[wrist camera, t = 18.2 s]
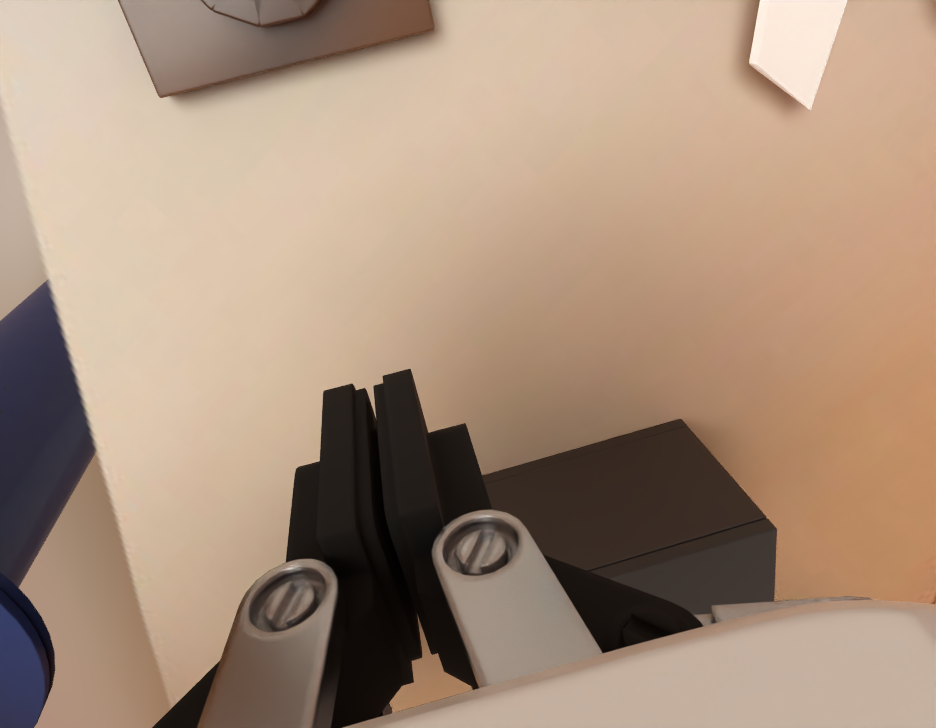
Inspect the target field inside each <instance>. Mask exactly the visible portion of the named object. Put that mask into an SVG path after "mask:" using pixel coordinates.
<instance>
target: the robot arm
mask: <svg viewBox="0 0 936 728" xmlns="http://www.w3.org/2000/svg"><path fill="white" fill-rule="evenodd" d="M374 398H375V409H376V418H375V415H374V412H373V408H372V405H371V402H370V399H369V396H368V393H367V391H366V389H365V388H363V389H359V390H356V389H355V387H354V385H353V384H349V385H345V386H341V387H337V388H333V389H329V390H325V391H324V393H323V410H322V430H321V450H320V461H319V462H315V463H312V464H308V465H304V466H300V467H298V468H297V469H296V472H295V478H294V488H293V498H292V507H291V517H290V527H289V536H288V546H287V556H286V563H283V564H281V565H279V566H277V567H275V568H273V569H271V570H269V571H268V572H267V573H265V574H264V575H263V576H262V577H260V578H259V579H258V580H256V581H255V583H254V584H253V585H252V586H251V587H250V588H249V590H248V591H247V592H246V593H245V595H244V597H243V599H242V601H241V603H240V605H239V608H238V611H237V614H236V616H235V619H234V622H233V625H232V628H231V631H230V634H229V637H228V640H227V642H226V645H225V648H224V651H223V654H222V657H221V660H220V661H219V662H218V663H217V664H216V665H215V666H214V667H213V668H212V669H211V670H210V671H209V672H208V673H207V674H206V675H205V676H204V677H203V678H202V679H201V680H200V681H199V682H198V683H197V684H196V685H195V686H194V687H193V688H192V689H191V690H190V691H189V692H188V693H187V694H186V695H185V696H184V697H183V698H182V699H181V700H180V701H179V702H178V703H177V704H176V705H175V706H174V707H173V708H172V709H171V710H170V711H169V712H168V713H167V714H166V715H165V716H164V717H162V719H160V720H159V721H158V722H157V723H156V724H155V726H153V728H936V605H933V604H926V603H919V602H903V601H887V600H873V599H871V598H865V597H852V596H844V597H830V598H815V599H801V600H786V601H772V602H757V603H743V604H729V605H714V606H711V614H701V615H693V614H692V613H690V612H689V611H688V610H686V609H684V608H682V607H681V606H679V605H677V604H675V603H673V602H670V601H667V600H665V599H662V598H659V597H657V596H654V595H651V594H649V593H646V592H643V591H640V590H638V589H635V588H632V587H630V586H627V585H624V584H622V583H619V582H616V581H613V580H611V579H608V578H605V577H603V576H600V575H597V574H594V573H592V572H589V571H586V570H584V569H581V568H578V567H576V566H573V565H570V564H567V563H565V562H562V561H559V560H557V559H554V558H551V557H548V556H546V555H543V554H542V553H541V551H540V550H539V548H538V547H537V545H536V543H535V542H534V540H533V538H532V537H531V535H530V533H529V532H528V530H527V529H526V527H525V526H524V525H523V524H522V523H521V522H520V520H519V519H518V518H516V517H514V516H512V515H510V514H508V513H506V512H501V511H496V510H492V507H491V503H490V500H489V497H488V494H487V490H486V487H485V484H484V481H483V477H482V474H481V471H480V468H479V465H478V461H477V458H476V455H475V452H474V448H473V445H472V442H471V439H470V436H469V432H468V429H467V426H466V424H465V423H464V424H460V425H456V426H453V427H449V428H445V429H441V430H437V431H434V432H430V433H428V430H427V426H426V423H425V419H424V415H423V412H422V408H421V404H420V401H419V397H418V394H417V390H416V386H415V383H414V379H413V375H412V372H411V369H407V370H403V371H399V372H396V373H392V374H388V375H384V376H383V384H379V385H375V386H374ZM417 614H418V616H417ZM418 617H419V620H420V623H421V626H422V629H423V632H424V634H425V637H426V640H427V643H428V646H429V649H430V652H431V654H432V655H433V654H437V653H438V654H439V657H440V660H441V663H442V666H443V669H444V671H445V672H446V673H448V674H450V675H452V676H454V677H456V678H457V679H459V680H461V681H463V682H465V683H467V684H468V685H470V686H471V687H472V691H468V692H465V693H461V694H458V695H454V696H451V697H447V698H444V699H440V700H437V701H433V702H430V703H426V704H423V705H419V706H416V707H412V708H409V709H405V710H402V711H398V712H395V713H392V708H391V706H390V704H389V702H390V701H391V699H392V698H393V697H394V696H395V694H396V693H397V692H398V690H399V689H400V688H401V686H403V685H406V684H410V683H413V682H414V680H413V671H412V662H411V661H412V660H416V659H419V658H422V647H421V640H420V632H419V624H418Z"/></svg>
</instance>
